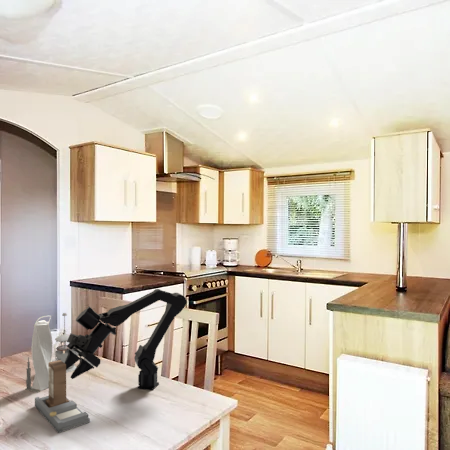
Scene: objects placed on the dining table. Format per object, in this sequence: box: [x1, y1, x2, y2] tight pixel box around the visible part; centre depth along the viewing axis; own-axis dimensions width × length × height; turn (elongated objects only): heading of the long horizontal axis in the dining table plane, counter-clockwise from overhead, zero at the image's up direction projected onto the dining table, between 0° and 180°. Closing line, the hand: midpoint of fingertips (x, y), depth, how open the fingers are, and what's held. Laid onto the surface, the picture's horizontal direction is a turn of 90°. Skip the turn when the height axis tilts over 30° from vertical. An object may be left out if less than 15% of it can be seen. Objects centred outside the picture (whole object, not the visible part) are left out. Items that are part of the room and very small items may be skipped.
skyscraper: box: [25, 314, 53, 394], centre depth 155 cm, size 8×8×28 cm
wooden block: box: [46, 359, 70, 408], centre depth 138 cm, size 6×6×14 cm
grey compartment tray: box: [34, 395, 91, 434], centre depth 133 cm, size 24×10×4 cm, turn 41°
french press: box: [54, 312, 77, 374], centre depth 176 cm, size 10×12×25 cm
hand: (66, 374), depth 140 cm, fingers open, 9 cm apart
